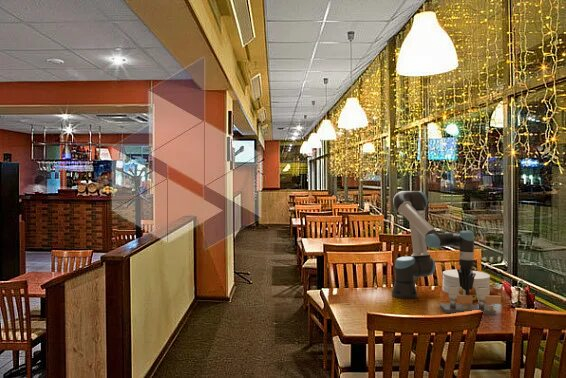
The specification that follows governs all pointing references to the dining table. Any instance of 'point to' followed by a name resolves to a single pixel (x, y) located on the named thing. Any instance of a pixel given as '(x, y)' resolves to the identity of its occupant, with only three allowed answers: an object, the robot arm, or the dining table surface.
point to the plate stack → (453, 280)
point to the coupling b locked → (487, 296)
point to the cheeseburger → (470, 293)
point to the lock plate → (467, 307)
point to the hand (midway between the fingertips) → (465, 300)
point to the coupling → (459, 298)
